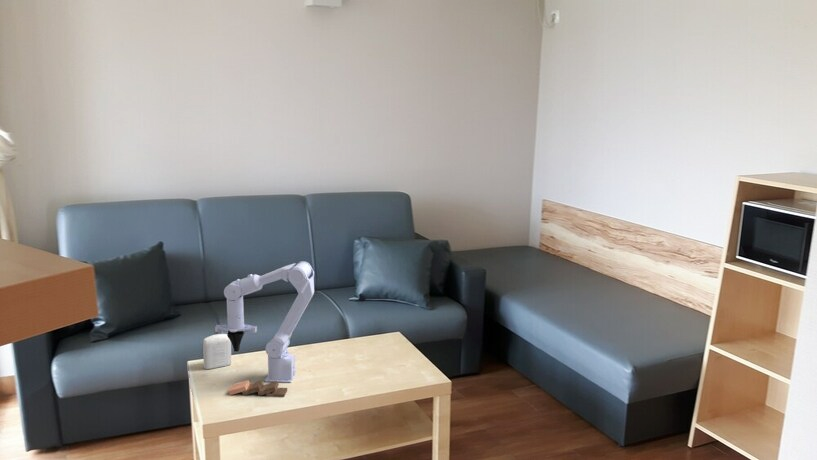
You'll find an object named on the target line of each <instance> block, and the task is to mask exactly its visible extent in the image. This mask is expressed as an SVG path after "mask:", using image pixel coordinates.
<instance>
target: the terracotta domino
mask: <svg viewBox="0 0 817 460" xmlns="http://www.w3.org/2000/svg"><path fill="white" fill-rule="evenodd" d="M250 384H251V383H250V380H249V379H247V380H244V381H241V382H237V383H234V384H231V386H230V388H229V389H228V395H229V396H232V395H235V394H238V393H239V394H240V393H242V392H243V391H246V390H247V388H248V387H249V385H250Z"/></svg>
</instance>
